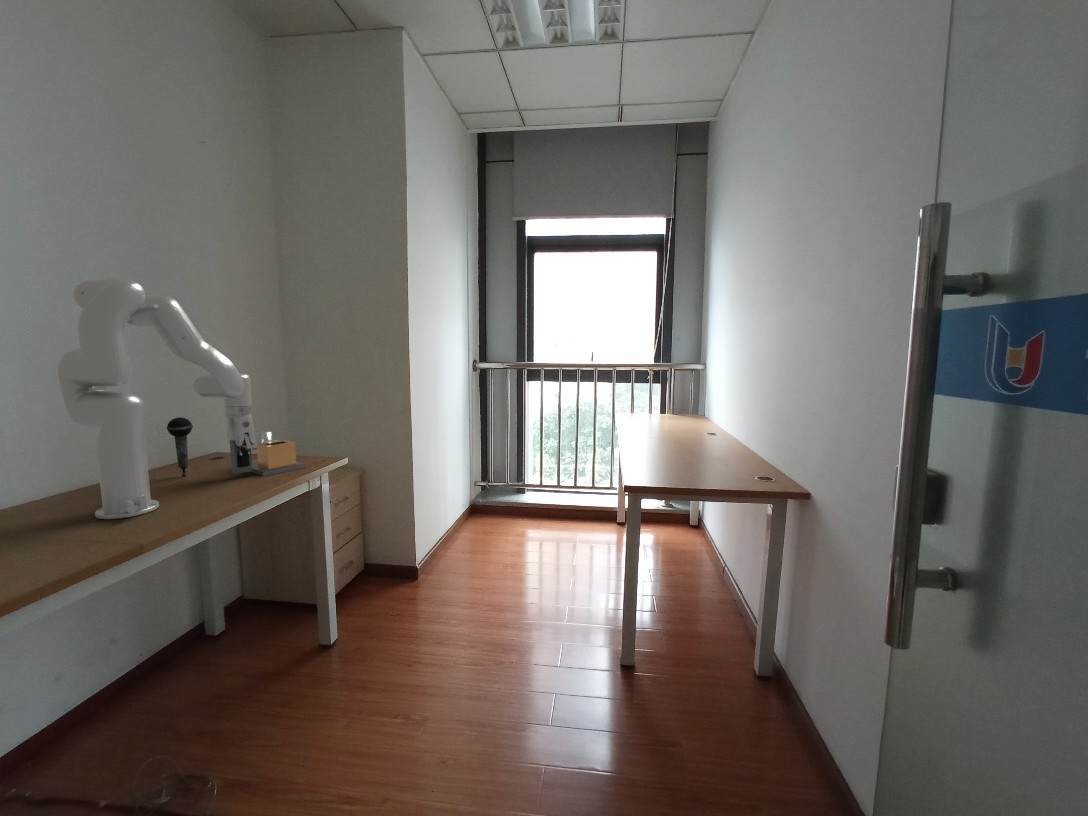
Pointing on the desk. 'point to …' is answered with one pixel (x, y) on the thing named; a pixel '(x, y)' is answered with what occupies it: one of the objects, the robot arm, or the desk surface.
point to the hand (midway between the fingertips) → (241, 465)
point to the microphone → (180, 439)
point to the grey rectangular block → (234, 459)
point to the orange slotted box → (274, 455)
